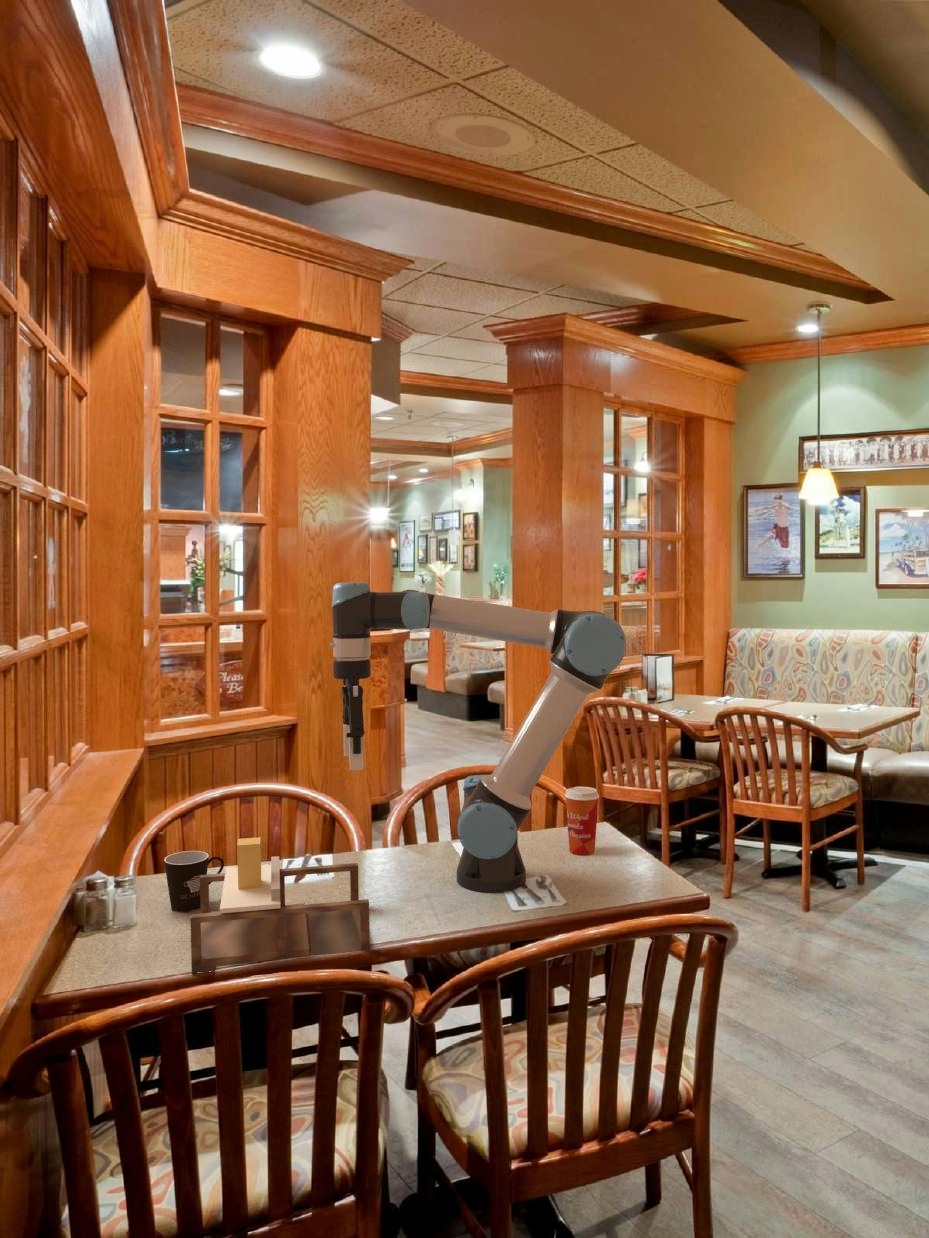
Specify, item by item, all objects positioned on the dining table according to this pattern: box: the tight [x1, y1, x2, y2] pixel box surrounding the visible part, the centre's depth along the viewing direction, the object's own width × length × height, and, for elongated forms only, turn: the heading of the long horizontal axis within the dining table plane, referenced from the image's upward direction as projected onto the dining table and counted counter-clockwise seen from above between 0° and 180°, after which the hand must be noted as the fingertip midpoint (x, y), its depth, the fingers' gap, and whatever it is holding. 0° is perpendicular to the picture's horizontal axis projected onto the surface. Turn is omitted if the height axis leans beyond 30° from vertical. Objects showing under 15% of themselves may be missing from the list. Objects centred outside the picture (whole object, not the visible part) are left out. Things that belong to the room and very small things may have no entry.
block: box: [236, 836, 262, 889], centre depth 161 cm, size 4×4×8 cm
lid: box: [219, 855, 280, 913], centre depth 161 cm, size 10×22×3 cm, turn 12°
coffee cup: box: [564, 786, 600, 857], centre depth 212 cm, size 8×8×15 cm
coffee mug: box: [163, 850, 225, 913], centre depth 180 cm, size 12×9×10 cm
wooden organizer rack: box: [189, 862, 371, 975], centre depth 163 cm, size 30×22×10 cm
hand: (353, 762), depth 181 cm, fingers open, 13 cm apart
